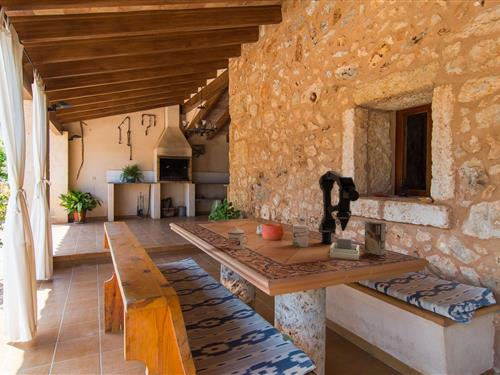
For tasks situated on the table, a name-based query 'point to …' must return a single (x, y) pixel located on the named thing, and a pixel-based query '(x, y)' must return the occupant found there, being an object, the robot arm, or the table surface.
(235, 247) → the teacup with lid
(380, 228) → the coffee box
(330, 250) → the bay
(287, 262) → the table surface
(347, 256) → the tray
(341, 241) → the grey block
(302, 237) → the ink box
